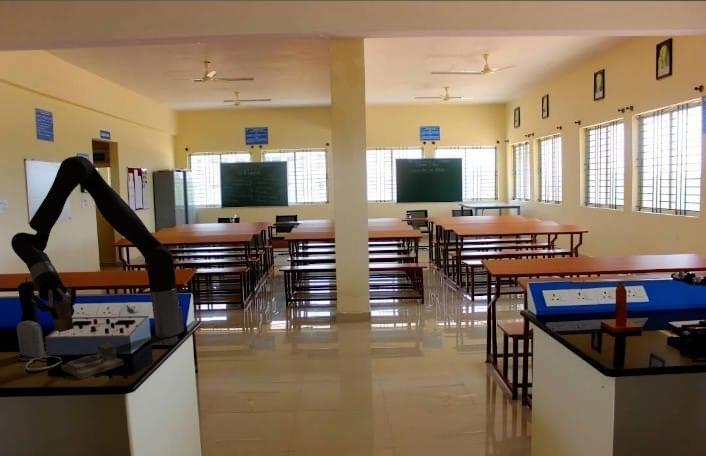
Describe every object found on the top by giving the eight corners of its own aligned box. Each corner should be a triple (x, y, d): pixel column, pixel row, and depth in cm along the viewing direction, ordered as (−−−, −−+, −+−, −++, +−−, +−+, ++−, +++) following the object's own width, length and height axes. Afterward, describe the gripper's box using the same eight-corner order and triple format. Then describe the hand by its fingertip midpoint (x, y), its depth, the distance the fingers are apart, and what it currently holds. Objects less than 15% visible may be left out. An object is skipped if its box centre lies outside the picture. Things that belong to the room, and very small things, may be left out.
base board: (103, 356, 171) (101, 341, 171) (123, 364, 161) (121, 347, 161) (61, 369, 161) (59, 353, 161) (80, 379, 152) (78, 361, 151)
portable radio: (26, 337, 205) (17, 276, 203) (43, 334, 208) (34, 274, 205) (23, 342, 198) (13, 279, 196) (41, 339, 201) (31, 277, 198)
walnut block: (68, 326, 171) (63, 300, 170) (73, 328, 168) (69, 301, 167) (55, 330, 168) (50, 303, 167) (60, 332, 165) (56, 305, 164)
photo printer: (47, 354, 180) (42, 320, 179) (34, 358, 176) (29, 323, 175) (31, 351, 185) (26, 318, 184) (18, 355, 181) (13, 321, 180)
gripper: (23, 275, 166) (42, 315, 159) (69, 266, 176) (89, 304, 170) (20, 289, 170) (39, 329, 163) (66, 280, 180) (85, 317, 174)
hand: (64, 316), depth 166 cm, fingers closed on walnut block, 4 cm apart
